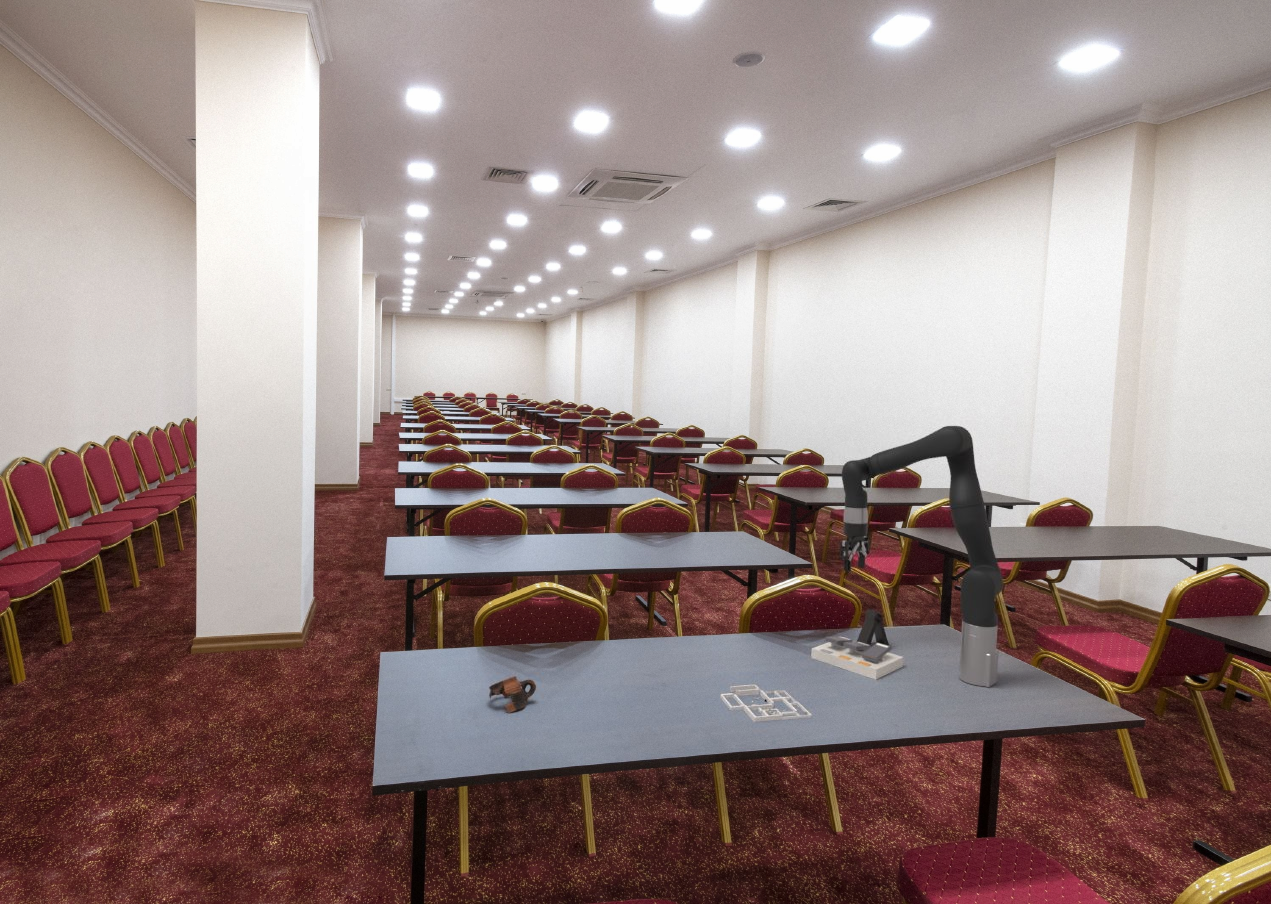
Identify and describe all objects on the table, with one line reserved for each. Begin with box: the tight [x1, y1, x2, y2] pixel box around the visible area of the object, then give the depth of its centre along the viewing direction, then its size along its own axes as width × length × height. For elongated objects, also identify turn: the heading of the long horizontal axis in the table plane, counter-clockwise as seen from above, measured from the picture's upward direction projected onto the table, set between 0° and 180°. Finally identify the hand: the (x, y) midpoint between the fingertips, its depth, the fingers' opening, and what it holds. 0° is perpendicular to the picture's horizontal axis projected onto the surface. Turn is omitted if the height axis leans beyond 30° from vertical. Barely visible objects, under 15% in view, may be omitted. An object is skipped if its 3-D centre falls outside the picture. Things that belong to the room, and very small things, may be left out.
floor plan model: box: [720, 684, 813, 723], centre depth 182 cm, size 19×25×2 cm
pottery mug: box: [488, 676, 537, 714], centre depth 180 cm, size 12×10×8 cm
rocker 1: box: [824, 636, 854, 645], centre depth 219 cm, size 4×9×1 cm, turn 132°
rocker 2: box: [843, 641, 871, 650], centre depth 214 cm, size 4×9×1 cm, turn 132°
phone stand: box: [856, 608, 890, 647], centre depth 228 cm, size 9×6×12 cm, turn 97°
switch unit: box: [810, 642, 904, 680], centre depth 214 cm, size 22×16×4 cm
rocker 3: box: [862, 643, 892, 662], centre depth 209 cm, size 4×9×1 cm, turn 132°
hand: (854, 569), depth 228 cm, fingers open, 8 cm apart
